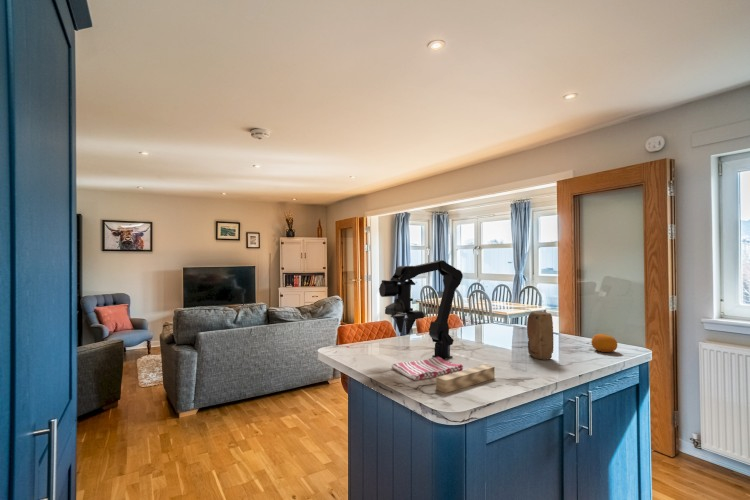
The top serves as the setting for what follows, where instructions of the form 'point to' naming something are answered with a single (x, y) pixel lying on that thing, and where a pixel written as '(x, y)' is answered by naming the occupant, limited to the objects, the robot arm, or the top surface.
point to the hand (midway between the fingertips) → (403, 333)
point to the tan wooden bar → (464, 378)
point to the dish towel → (426, 368)
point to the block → (540, 335)
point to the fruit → (604, 343)
